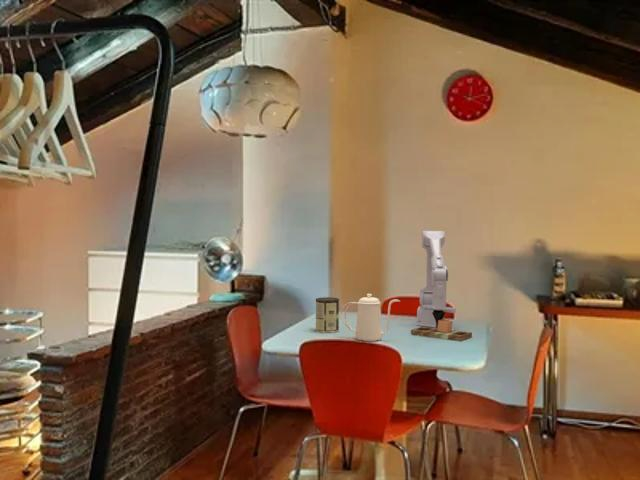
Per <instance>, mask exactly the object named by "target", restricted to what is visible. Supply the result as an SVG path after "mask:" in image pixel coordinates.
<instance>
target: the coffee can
mask: <svg viewBox="0 0 640 480" xmlns="http://www.w3.org/2000/svg"><path fill="white" fill-rule="evenodd" d="M339 303H340V298H338V297H326V296H325V297H317V298H315V331H316V332H318V333H322V334H323V333H325V334H326V333H327V334H331V333H337V332H338V333H339V330H340V329H339V328H340V325H339V324H340V321H339V320H340V319H339V318H340V315H339V314H340V313H339V311H340V304H339Z"/></svg>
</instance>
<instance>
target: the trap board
mask: <svg viewBox="0 0 640 480" xmlns="http://www.w3.org/2000/svg"><path fill="white" fill-rule="evenodd" d="M411 334H412V335H411ZM410 335H411V336H417V335H419V337H425V336H426V338H433V339H441V340H450V341H457V342H463V341H465V340H466V341H467V340H469V339H471V338H473V332H470V331H462V330H456V329H455V330H454V329H452V331H451V332H448V333H444V332H440V331H437V328H436V327H427V326H420V327H417V328H414V329H411V330H410Z"/></svg>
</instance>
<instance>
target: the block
mask: <svg viewBox="0 0 640 480" xmlns="http://www.w3.org/2000/svg"><path fill="white" fill-rule="evenodd" d="M452 330H453V320H449V319H445V318H443V319H441V320H438V327H437V331H440V332H444V333H448V332H451V331H452Z"/></svg>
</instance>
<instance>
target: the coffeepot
mask: <svg viewBox="0 0 640 480" xmlns="http://www.w3.org/2000/svg"><path fill="white" fill-rule="evenodd" d="M372 296H373V294H372V293H367V294H366V297H365V296H364V297H361V298H359V300H358V302H356V301H351V302H347V303H345V304H344V305H342V308H341V310H340V318H341V320H342V322H343V324H344V325H345V326H346V328H347V329H348V330H350V331H352V332H354V333H355V339H357V340H359V341H361V340H363V341H362V342H378V341H380V340H382V338H383V335H385V334H387V333H388V330H389V325H390V314H391V305H392V304H393V303H395V302H396V303H397V302H400V300H399V299H392V300H390V301H389V303H388V307H387V317H386V328H385V331H382V329H383V328H382V316H381V315H382V314H381V313H382V312H381V304H382V303H381V301H380V299H379V298H378V297H372ZM348 304H349V305H348ZM353 304H355V305H356V304H357V318H356V327H355V329H354V328H352V327H351V325H350V324H349V323H348V320H347V310H348V308H349V307H350V306H351V305H353ZM346 305H348V306H347V307H346V308H345V306H346ZM344 308H345V311H344V317H343V310H344ZM367 340H369V341H367ZM377 340H378V341H377Z"/></svg>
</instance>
